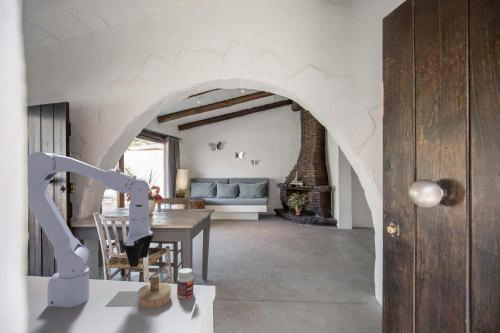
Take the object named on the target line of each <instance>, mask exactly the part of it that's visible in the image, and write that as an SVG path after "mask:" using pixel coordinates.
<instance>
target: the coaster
mask: <svg viewBox="0 0 500 333" xmlns="http://www.w3.org/2000/svg"><path fill="white" fill-rule="evenodd" d="M138 291H139V290H137V291H118V292H117V293H116V295H114V296H113V297H112V299H110V301H108V303H106V305H105V307H137V305H138V304H140V298H139V297H138Z"/></svg>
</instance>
